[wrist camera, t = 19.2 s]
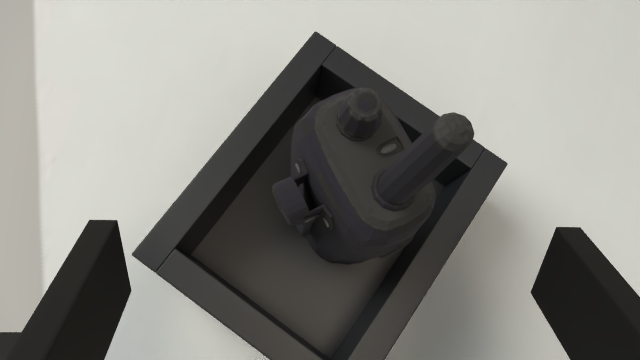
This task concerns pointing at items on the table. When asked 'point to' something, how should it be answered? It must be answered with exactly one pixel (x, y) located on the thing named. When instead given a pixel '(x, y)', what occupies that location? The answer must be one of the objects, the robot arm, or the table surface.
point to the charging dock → (295, 250)
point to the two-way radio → (364, 176)
